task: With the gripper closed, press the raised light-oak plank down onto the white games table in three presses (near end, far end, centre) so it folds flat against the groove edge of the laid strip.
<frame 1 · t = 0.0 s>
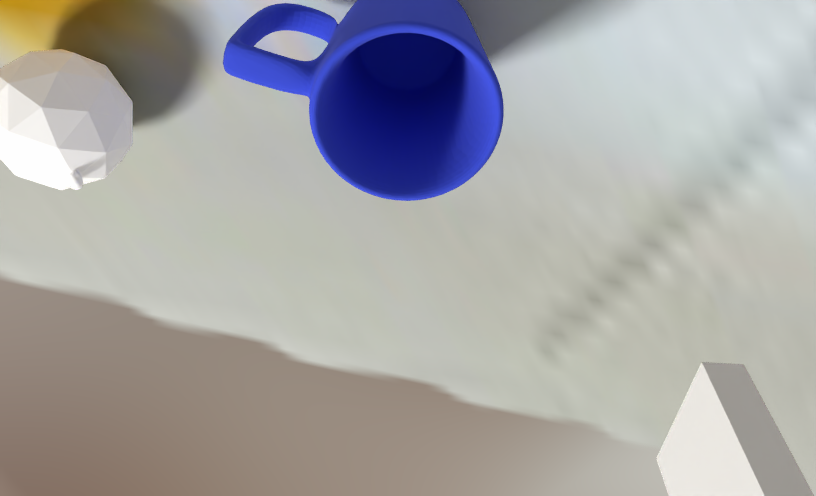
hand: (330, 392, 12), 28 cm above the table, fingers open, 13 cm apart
mug: (372, 25, 37), on the table
ornament: (87, 91, 39), on the table
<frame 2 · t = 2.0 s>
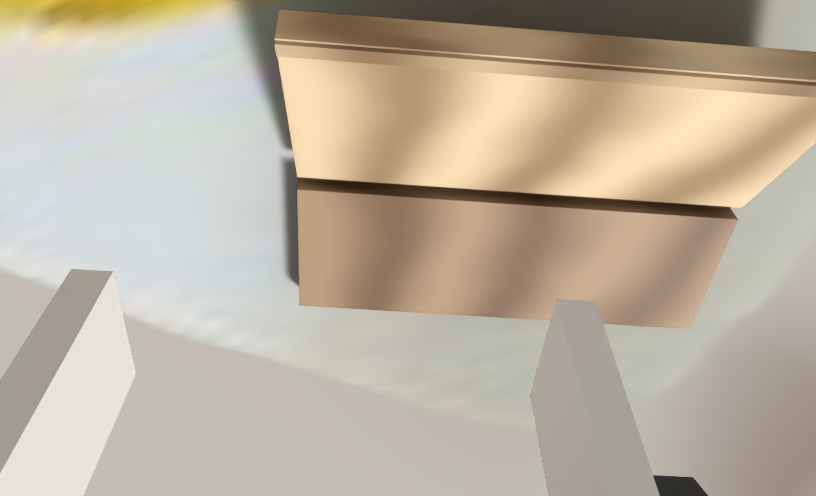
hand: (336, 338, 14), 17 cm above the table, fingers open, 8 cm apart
laid strip: (521, 168, 31), on the table
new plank: (547, 126, 27), point 3 cm above the table, hinge at 30.0°
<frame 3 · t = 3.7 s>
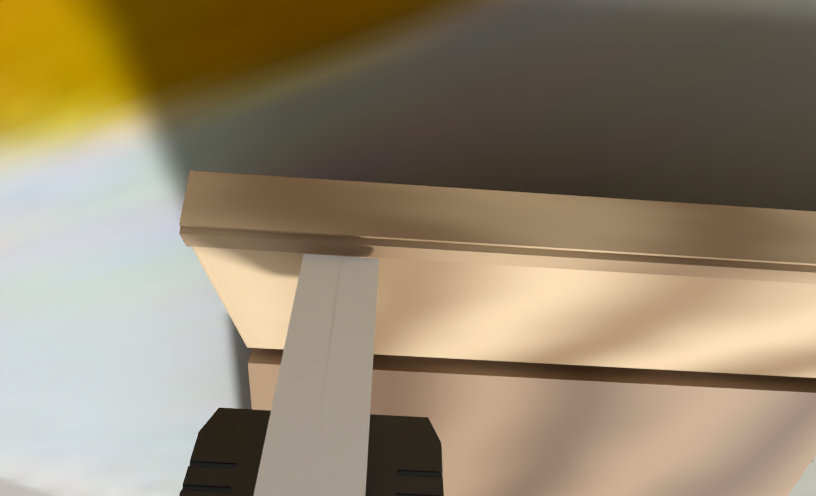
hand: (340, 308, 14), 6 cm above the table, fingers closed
laid strip: (560, 326, 22), on the table
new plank: (608, 303, 18), point 3 cm above the table, hinge at 29.8°, touching gripper
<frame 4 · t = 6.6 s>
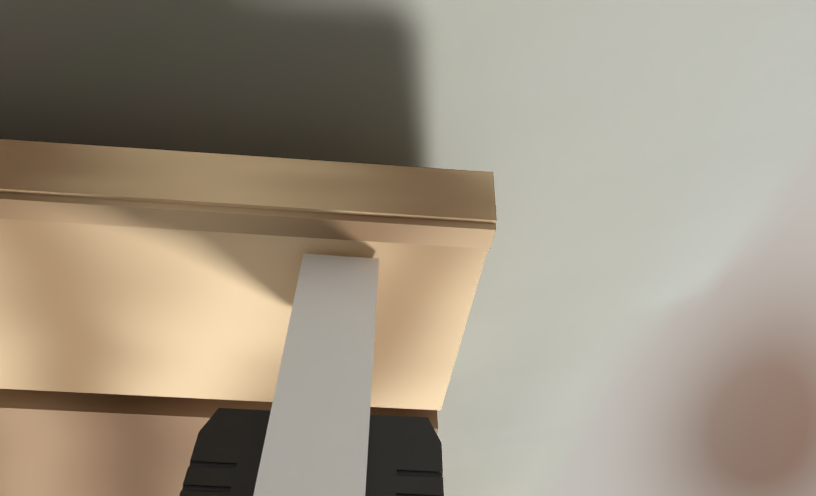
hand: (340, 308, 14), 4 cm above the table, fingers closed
laid strip: (103, 353, 20), on the table
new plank: (40, 293, 16), point 2 cm above the table, hinge at 17.6°, touching gripper
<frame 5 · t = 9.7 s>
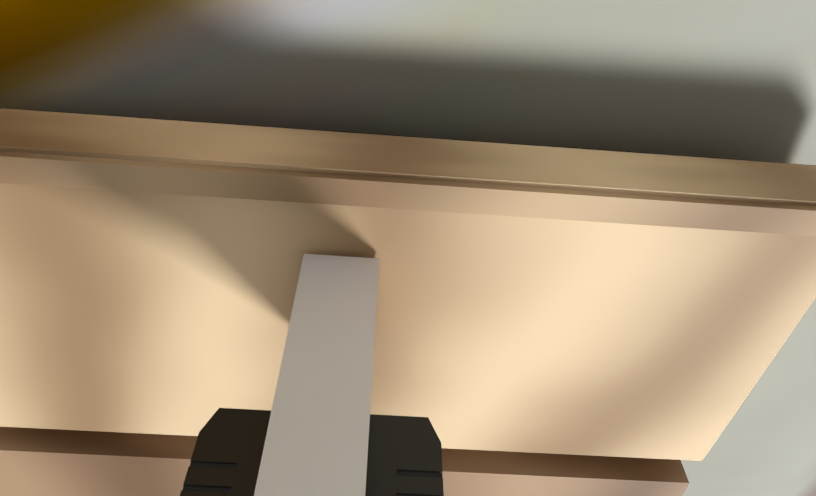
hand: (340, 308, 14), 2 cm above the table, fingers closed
laid strip: (340, 403, 19), on the table
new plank: (339, 315, 16), point 1 cm above the table, hinge at 6.0°, touching gripper
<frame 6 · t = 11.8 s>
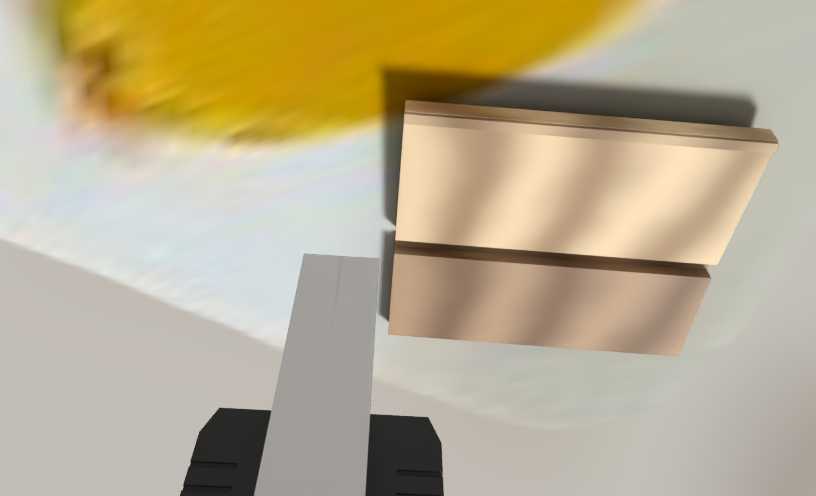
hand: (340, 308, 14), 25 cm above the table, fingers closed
laid strip: (554, 239, 43), on the table
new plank: (571, 188, 40), point 1 cm above the table, hinge at 5.8°
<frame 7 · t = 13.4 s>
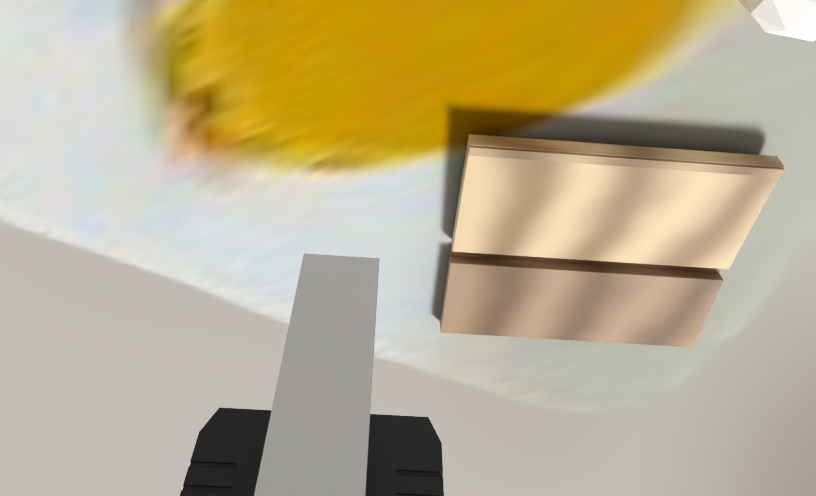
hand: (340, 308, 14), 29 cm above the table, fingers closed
laid strip: (588, 248, 50), on the table
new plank: (607, 206, 46), point 1 cm above the table, hinge at 5.8°
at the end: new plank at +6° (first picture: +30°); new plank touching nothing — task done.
